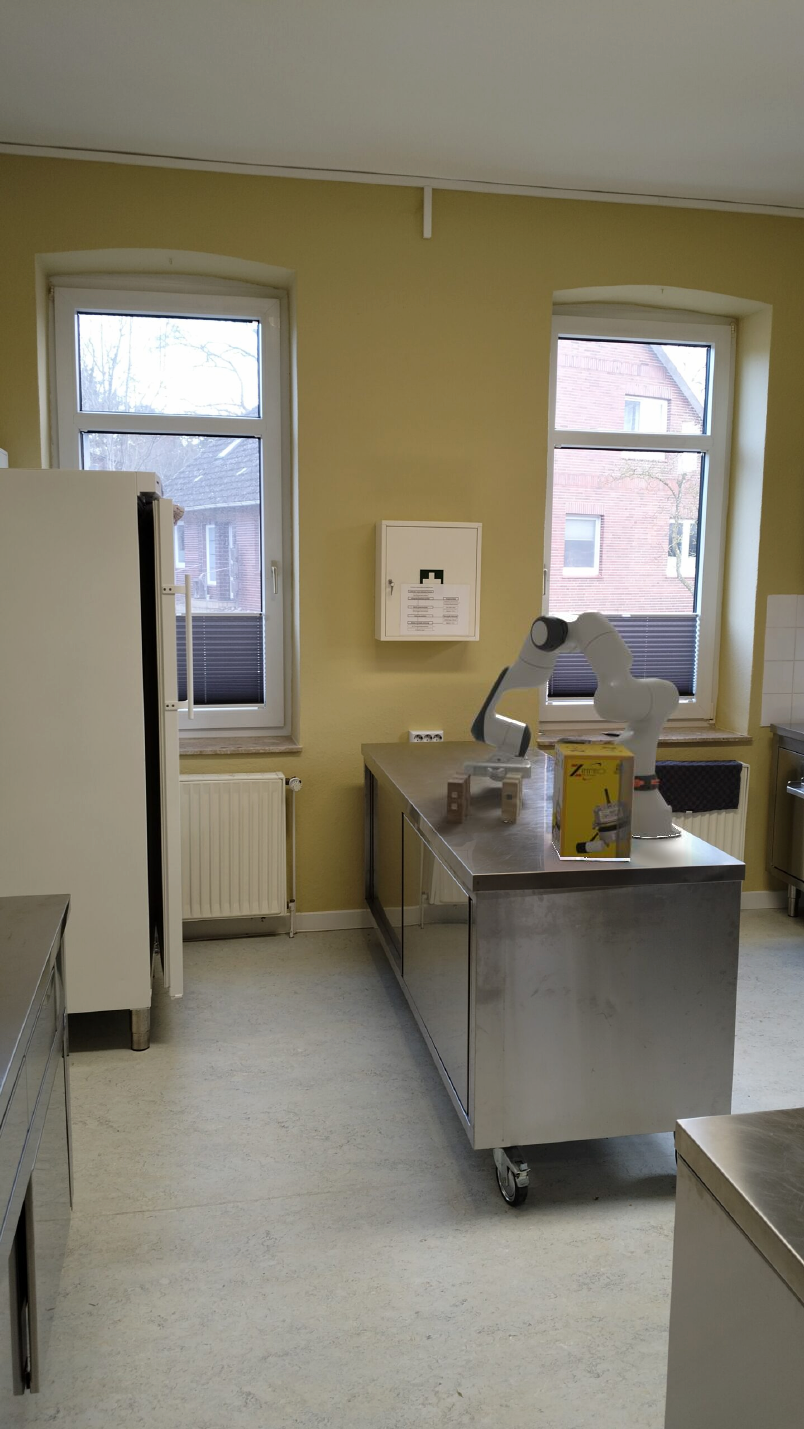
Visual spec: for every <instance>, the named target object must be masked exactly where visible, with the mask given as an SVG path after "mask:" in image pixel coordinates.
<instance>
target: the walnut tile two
mask: <svg viewBox="0 0 804 1429" xmlns="http://www.w3.org/2000/svg"><path fill="white" fill-rule="evenodd" d="M470 774H471V773H463V772H460V771H459V772H458V771H457V772H455V773H453V775H452V776H451V778H450V779H449V780H448V781H447V791H446V792H447V794H446V796H447V797H446V799H447V800H446V823H451V824H453V823H454V824H462V823H463V822H464V821H463V820H465V819H466V818H465V817H467V816H468V815H467V814H469V813H470V812H469V811H470V810H471V808H470V807H471V804H470V803H471V776H470ZM466 815H467V816H466ZM464 818H465V819H464Z"/></svg>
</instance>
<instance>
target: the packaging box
mask: <svg viewBox="0 0 804 1429" xmlns="http://www.w3.org/2000/svg"><path fill="white" fill-rule="evenodd" d="M553 759H554V761H553V764H554V765H553V784H552V785H553V787H552V788H553V789H552V790H553V791H552V810H551V811H552V812H551V813H552V817H551V818H552V819H551V840H550V841H552V842H553V844H554V846H555V848H556V850H557V851H558V853H559V855H560V857H584V858H586V857H587V858H632V856H631V853H632V838H633V837H632V817H633V796H634V774H635V756H634V755H633V754H632V753H631V752H630V751H628V750H627V749H626V748H625V747H624V746H623V745H614V744H606V743H605V744H604V743H603V744H602V743H601V744H600V743H599V744H598V743H596V744H595V743H590V744H557V743H554V758H553Z"/></svg>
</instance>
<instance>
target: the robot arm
mask: <svg viewBox="0 0 804 1429" xmlns="http://www.w3.org/2000/svg"><path fill="white" fill-rule="evenodd" d="M560 653H563V654H576V653H577V654H578V653H582V654H583V656H584V657H585V659H586V661H587V662H588V664H589V667H591V669H592V671H593V673H594V675H595V677H596V679H597V682H598V685H597V689H596V690H595V692H594V695H593V706H594V707H593V708H594V710H595V712H596V714H597V716H598V717H600V719H603V720H605V721H609V722H617V723H623V722H625V723H627V725H626V727H625V729H624V730H623V731H622V733H621V734H620V735H619V736H618V737H617V738H616V739H615V740H614V743H613V745H623V746H624V747H625V748H626V749H627V750H628V751H630V752H631V753H632V754H633V755H634V756H635V774H634V796H633V817H632V835H633V836H640V837H657V836H669V835H670V836H671V835H676V834H680V833H681V834H682V831H681V830H680V829H679V828H677V827H676V826H674V825H673V816H672V813H673V807H672V806H671V805H668V803H667V802H666V800H665V799H664V797H663V796H662V793H660V791H659V789H658V788H659V784H660V783H659V782H660V781H661V780H660V779H658V776H657V773H656V772H655V771H656V760H657V759H656V757H657V748H658V743H659V740H660V736H661V733H662V731H663V729H664V727H665V724H666V723H667V720H669V718H670V717H671V716H672V715H673V714H674V713H675V712H676V710H678V707H679V703H680V693H679V691H678V688H677V686H676V685H675V684H674V683H673V682H671V681H669V680H666V679H663V678H662V679H661V678H658V677H657V678H655V677H652V678H651V677H650V678H636V677H634V676H633V675H632V674H631V672H630V669H631V668H632V666H633V662H634V655H633V653H632V651H631V649H630V648H629V646H628V645H627V644H626V642H625V641H624V639H623V637H622V636H621V634H620V633H619V632H618V630H617V629H616V627H615V626H614V625H613V624H612V622H611V621H610V620H609V619H608V618H607V617H606V616H605V615H604V614H603V613H601V612H600V611H598V610H594V609H593V610H585V611H584V612H582V613H581V614H579V615H578V614H569V613H559V614H551V613H549V614H544V615H540V616H538V617H537V618H535V619H534V621H533V622H532V625H531V627H530V629H529V631H528V633H527V635H526V637H525V639H524V642H523V644H522V646H521V649H520V651H519V654H518V657H517V659H516V661H515V662H514V663H512V664H511V665H507V666H505V667H504V668H503V669H502V670H501V672H500V673H499V675H498V677H497V679H496V680H495V682H494V684H493V685H492V687H491V689H490V691H489V694H488V695H487V697H486V698H485V701H484V703H483V704H482V707H481V708H480V710H479V711H478V713H476V715H475V716H474V718H473V719H472V721H471V725H470V733H471V736H472V737H473V739H474V740H475V741H476V742H479V743H483V744H488V745H491V746H493V747H496V749H495V750H493V751H492V753H491V754H490V755H489V756H488V757H487V759H486V760H468V761H465V762H463V764H462V773H471V774H470V777H484V778H489V779H490V780H492V781H495V782H500V783H501V782H503V780H504V778H505V777H506V775H507V774H508V772H514V773H523V779H522V780H528V779H529V780H531V778H532V762H531V761H530V759H529V758H530V757H528V756H525V755H526V753H527V751H528V749H529V747H530V743H531V738H532V732H531V730H530V727H529V725H528V724H526V723H525V722H521V721H519V720H516V719H513V718H510V717H506V716H504V715H502V714H499V713H497V712H496V711H495V710H496V708H497V706H498V705H499V703H500V701H501V699H502V698H503V696H504V694H505V693H506V692H509V691H511V690H531V689H536V688H539V687H542V686H544V685H545V684H547V683H548V682H549V680H550V678H551V677H552V675H553V672H554V669H555V666H556V663H557V661H558V660H557V659H558V657H559V655H560ZM675 827H676V828H677V829H676V828H675ZM678 829H679V830H680V831H679V830H678Z"/></svg>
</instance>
